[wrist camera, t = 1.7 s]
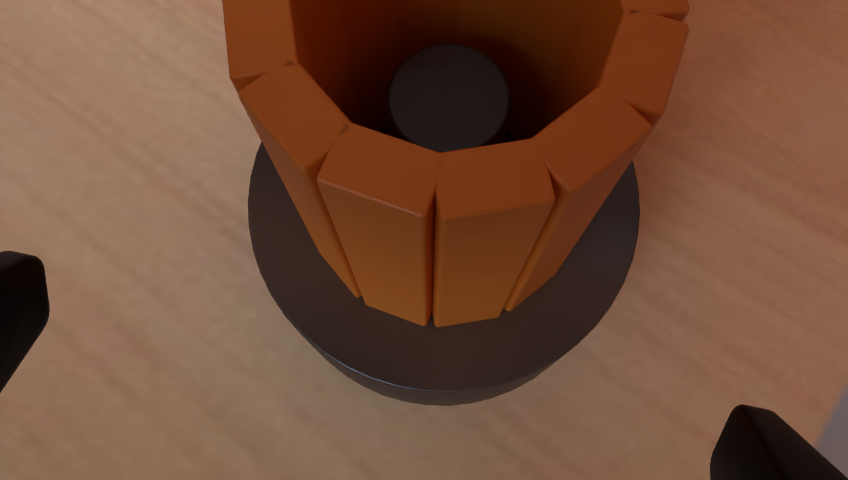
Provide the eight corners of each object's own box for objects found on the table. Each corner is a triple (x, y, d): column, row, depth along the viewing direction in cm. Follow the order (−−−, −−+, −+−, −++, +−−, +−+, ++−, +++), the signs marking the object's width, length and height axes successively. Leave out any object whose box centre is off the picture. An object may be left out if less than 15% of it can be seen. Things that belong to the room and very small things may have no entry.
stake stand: (546, 457, 20) (635, 454, 11) (225, 334, 21) (85, 246, 12) (640, 152, 23) (769, -36, 14) (352, 57, 24) (309, -170, 15)
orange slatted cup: (529, 365, 17) (613, 284, 9) (266, 269, 18) (142, 119, 10) (609, 122, 19) (733, -114, 11) (369, 43, 19) (330, -227, 12)
